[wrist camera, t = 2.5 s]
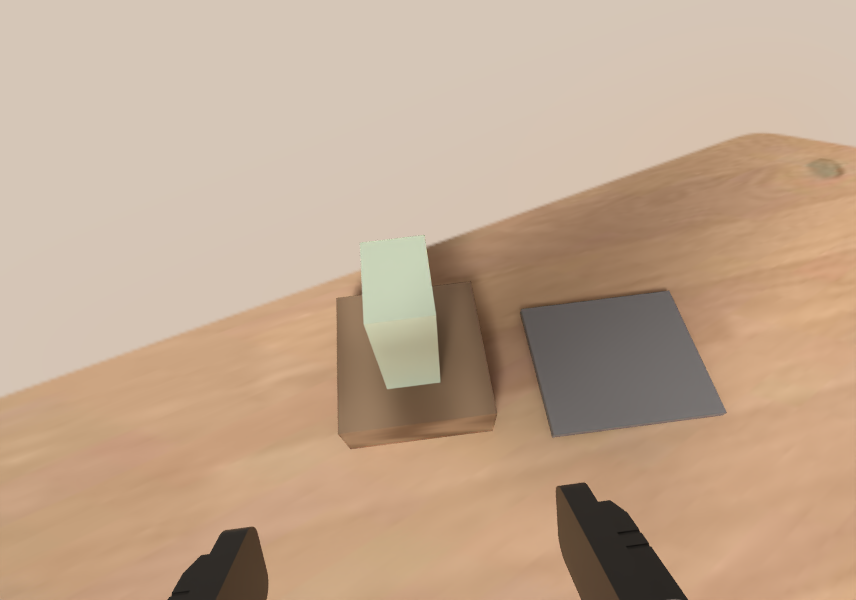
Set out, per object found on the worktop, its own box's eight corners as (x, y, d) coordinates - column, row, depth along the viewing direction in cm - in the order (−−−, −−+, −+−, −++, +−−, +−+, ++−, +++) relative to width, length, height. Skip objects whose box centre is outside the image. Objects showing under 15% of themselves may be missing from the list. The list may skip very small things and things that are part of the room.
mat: (666, 294, 36) (669, 290, 36) (722, 415, 31) (726, 412, 31) (520, 312, 36) (521, 309, 36) (552, 437, 31) (554, 435, 30)
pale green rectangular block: (431, 316, 32) (424, 235, 24) (440, 382, 29) (436, 315, 21) (382, 322, 32) (359, 243, 24) (387, 389, 29) (363, 324, 21)
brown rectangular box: (469, 308, 37) (470, 281, 33) (492, 430, 31) (497, 413, 28) (347, 323, 36) (336, 298, 33) (350, 449, 31) (337, 434, 28)
